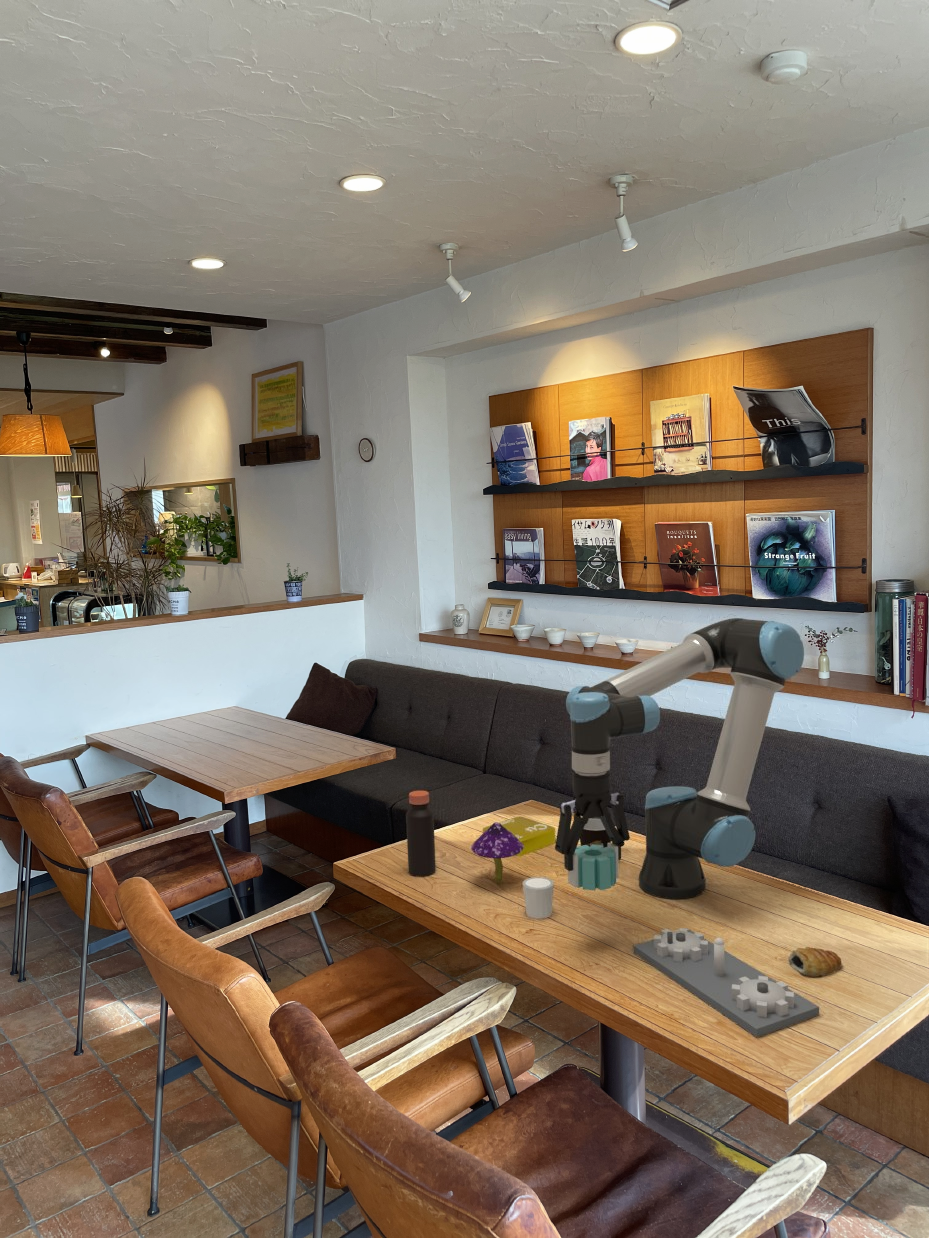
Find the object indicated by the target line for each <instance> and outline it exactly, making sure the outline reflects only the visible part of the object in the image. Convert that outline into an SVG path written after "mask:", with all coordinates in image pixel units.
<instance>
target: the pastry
mask: <svg viewBox="0 0 929 1238" xmlns="http://www.w3.org/2000/svg"><path fill="white" fill-rule="evenodd" d="M787 960H788V962H789V963H788V964H790V966H791V968H793V969H794V970H795V971H798V972H799V973H801V974H802V975H804V976H807V977H813V978H814V977H818V976H827V975H829V974H832V973H834V971H835V972H837V971H839V969H840V968H841V967H842V965H843V964H842V959H841V957H840V956H839V955H838V953H836V952H834V951H832V950H828V949H827V950H825V949H823V948H817V947H809V946H806V947H805V948H803V947H797V949H795V950H792V953H790V954H789V956H788V959H787Z"/></svg>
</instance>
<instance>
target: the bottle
mask: <svg viewBox="0 0 929 1238" xmlns="http://www.w3.org/2000/svg"><path fill="white" fill-rule="evenodd" d="M408 800H409V801H408V802H409V806H410V808H409V809H408V811H406V814H405V823H406V844H407V845H406V846H407V864H408V865H407V867H408V869H407V870H408V873H409V874H410V875H411V876H414V877H428V876H432V875H433V874H434V873H435V872H436V871H437V868H436V863H437V862H436V844H435V825H434V824H435V820H434V819H435V818H434V811H433V810H432V809H431V808H430V807H429V804H430V793H429V791H426V790H413V791H410V792H409V794H408Z"/></svg>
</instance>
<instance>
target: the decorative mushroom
mask: <svg viewBox="0 0 929 1238" xmlns="http://www.w3.org/2000/svg"><path fill="white" fill-rule="evenodd" d="M490 825H491V826H490ZM490 825H489V826H490V827H489V828H488V829H487V830H486V831H485V832H484V833H483V832H482V834H481V835H480V836H479V837H478V838H477V839H476V840H474V842H473V843H472V845H471V848H470V849H471V850H472V852H473V854H475V855H476V856H479V857H482V858H487V859H492V860H493V862H494V867H495V869H494V882H495V884H502V883H503V871H504V866H503V861H502V859H504V858H510V857H514V856H515V855H517V854H519V853H520V852H521V851H522V850H523V848H524V845H523V844H522V843H521V842H520V841H519V840H518V839H517V837H516V836H515V835H513V834H512V833H511V832H510V831H509V830H507V829H506V828H505V827H503V826H502V825H501V824H500V822H497V821H496V822H493V824H490ZM515 857H516V856H515Z"/></svg>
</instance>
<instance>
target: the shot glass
mask: <svg viewBox="0 0 929 1238" xmlns="http://www.w3.org/2000/svg"><path fill="white" fill-rule="evenodd" d="M554 886H555V883H554V881H553V880H552V879H551V878H547V877H541V876H532V877H529V878H526V879H524V880H523V881H522V888H523V889H522V890H523V897H524V905H525V913H526V914H525V915H526V916H527V917H529V918H530V919H536V920H539V919H542V920H543V919H547V918H549V917H551V916H552V914H553V913H552V912H553V899H554Z"/></svg>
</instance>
